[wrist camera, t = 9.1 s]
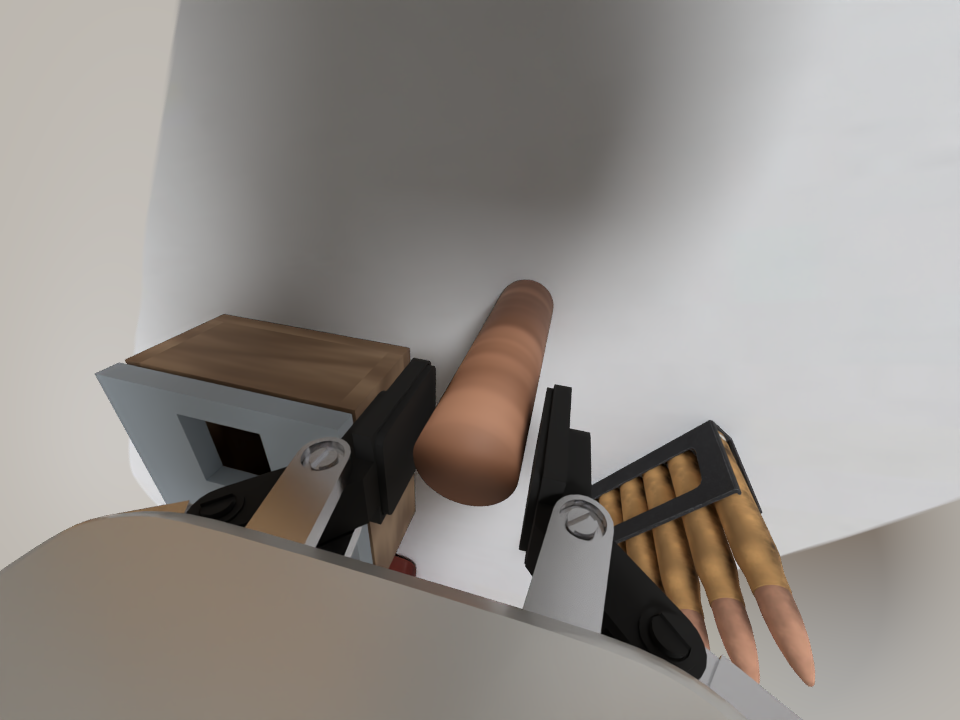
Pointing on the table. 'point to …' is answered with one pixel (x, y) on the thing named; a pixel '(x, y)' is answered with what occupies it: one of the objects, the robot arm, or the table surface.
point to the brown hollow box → (287, 387)
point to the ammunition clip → (706, 542)
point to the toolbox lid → (187, 441)
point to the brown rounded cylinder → (489, 403)
